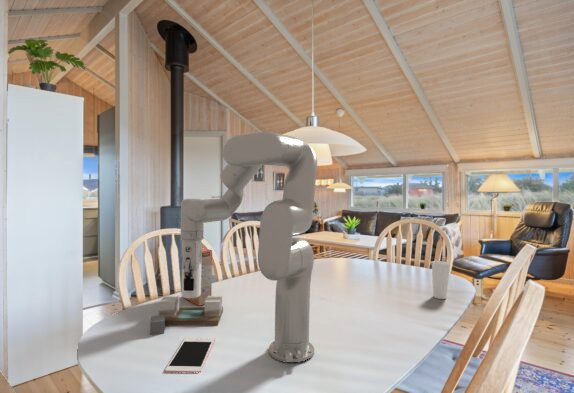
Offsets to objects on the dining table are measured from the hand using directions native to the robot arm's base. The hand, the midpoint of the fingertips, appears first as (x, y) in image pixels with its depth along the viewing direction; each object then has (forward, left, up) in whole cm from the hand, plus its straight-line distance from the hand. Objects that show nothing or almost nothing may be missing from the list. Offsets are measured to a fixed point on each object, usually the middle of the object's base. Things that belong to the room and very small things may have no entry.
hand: (191, 286), depth 116 cm
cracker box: (+18, +2, -11) cm, 21 cm away
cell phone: (-25, -6, -12) cm, 28 cm away
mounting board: (0, 0, -11) cm, 11 cm away
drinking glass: (+22, -99, -11) cm, 102 cm away
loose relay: (-10, +8, -11) cm, 17 cm away
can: (0, 0, -3) cm, 3 cm away
